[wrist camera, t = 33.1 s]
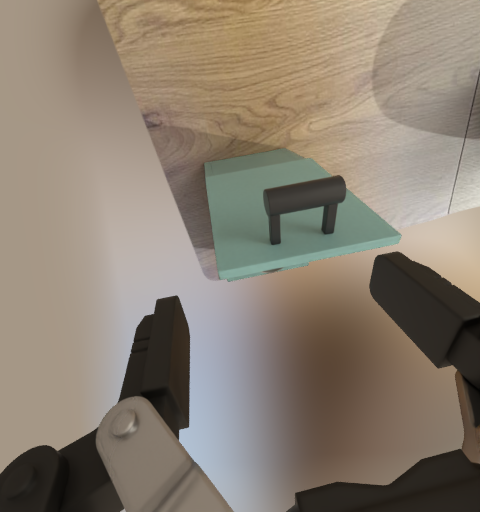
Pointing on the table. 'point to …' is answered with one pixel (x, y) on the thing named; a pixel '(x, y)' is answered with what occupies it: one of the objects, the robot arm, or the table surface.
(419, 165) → the table surface
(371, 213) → the lid
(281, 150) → the teal open box
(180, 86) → the table surface
